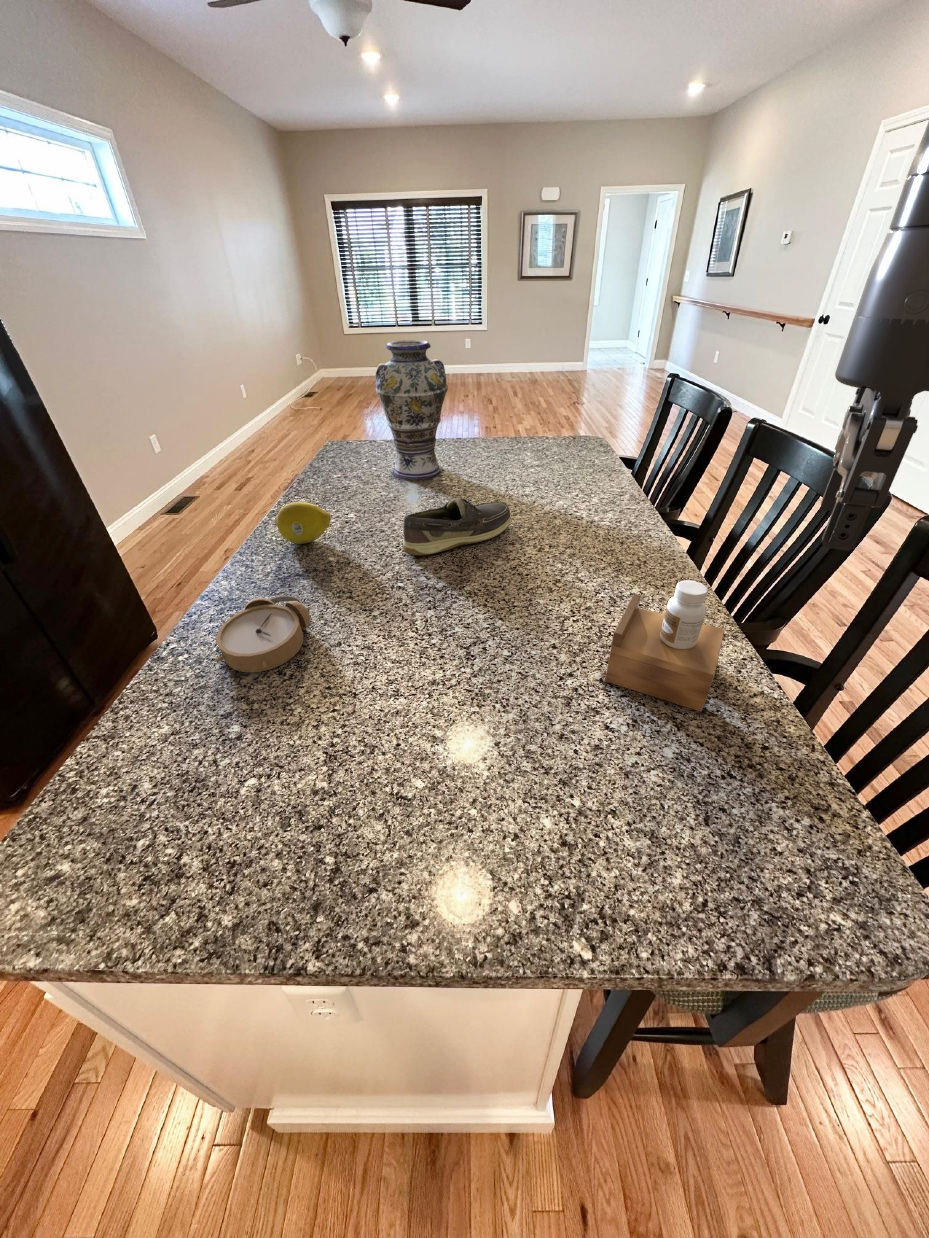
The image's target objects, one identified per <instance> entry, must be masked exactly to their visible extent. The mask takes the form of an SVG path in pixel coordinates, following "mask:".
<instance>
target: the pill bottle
mask: <svg viewBox="0 0 929 1238" xmlns="http://www.w3.org/2000/svg"><path fill="white" fill-rule="evenodd" d="M708 591H709V589H708V587H707V586H706V585H705V584H703V583H701V582H700V581H696V580H689V579H686V580H685V579H684V580H681V581H679V582H677V584H676V586H675V591H674V594H673V596H672V597H670V599H669V600H668V602H667V604H666V609H665V611H664V612H665V613H664V614H665V616H664V620H663V624H662V628H661V632H660V637H661V640H662V641H663V642H664V643H665V644H667V645H668V646H670V647H672V648H676V649H689V648H692V647H694V646H695V645H696V643H697V640H698V637H699V634H700V630H701V627H702V624H704V621H705V618H706V613H707V605H706V603H705V601H706V600H707V596H708Z"/></svg>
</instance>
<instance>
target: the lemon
mask: <svg viewBox="0 0 929 1238" xmlns="http://www.w3.org/2000/svg"><path fill="white" fill-rule="evenodd" d="M274 522H275V525H276V526H277V530H278V532H279V534H280V536H281V537H282V538H283V539H285V540H286V541H288V542H290V543H293V544H300V545H301V544H303V545H304V544H308V543H311V542H314V541H315V540H317V539H319V538H320V537H322V536H323V535H324V533H325V532H326V530H328V529H329V528H330V526H331V514H330V513H329V512H327V510H324V509H322V508H321V507H320V506H318V505H316V504H314V503H311V502H305V501H293V502H290V503H287V504H285V505H283V506H282V507H281V508H280V509H279V511H278V513H277V516H276V518H275V521H274Z"/></svg>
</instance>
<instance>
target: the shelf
mask: <svg viewBox="0 0 929 1238" xmlns="http://www.w3.org/2000/svg"><path fill="white" fill-rule="evenodd" d="M641 599H642V595H640V594H637V593H633V594H632V596H631V598H630V599H629V602H628V604H627V606H626V608H625V610H624V612H623V614H622V615H621V618H620V620H619V622H618V624H617V626H616V628H615V630H614V631H613V636H612V641H611V646H610V652H609V655H608V656H609V658H608V661H607V668H606V671H605V677H604V682H607V683H609V684H612V685H617V686H619V687H622V688H625V689H628V690H632V691H636V692H638V693H641V694H644V695H646V696H651V697H654V698H657V699H660V700H663V701H667V702H670V703H672V704H676V705H678V706H682V707H685V708H688V709H691V710H695V711H698V712H703V709H704V707H705V703H706V701H707V698H708V695H709V692H710V690H711V687H712V684H713V681H714V678H715V675H716V672H717V671H716V670H717V667H718V662H719V656H720V652H721V648H722V645H723V644H722V643H723V641H724V635H725V631H726V630H725V629H724V628H720V627H716V626H712V625H709V624H705V623H703V624H702V627H701V630H700V634H699V637H698V640H697V643H696V645H695V646H694V647H692V648H689V649H676V648H672V647H670V646H668V645H667V644H665V643H664V642H663V641H662V640H661V637H660V632H661V628H662V624H663V620H664V616H665V613H661V612H657V611H652V610H649V609H645V608H642V607H640V603H641Z"/></svg>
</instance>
